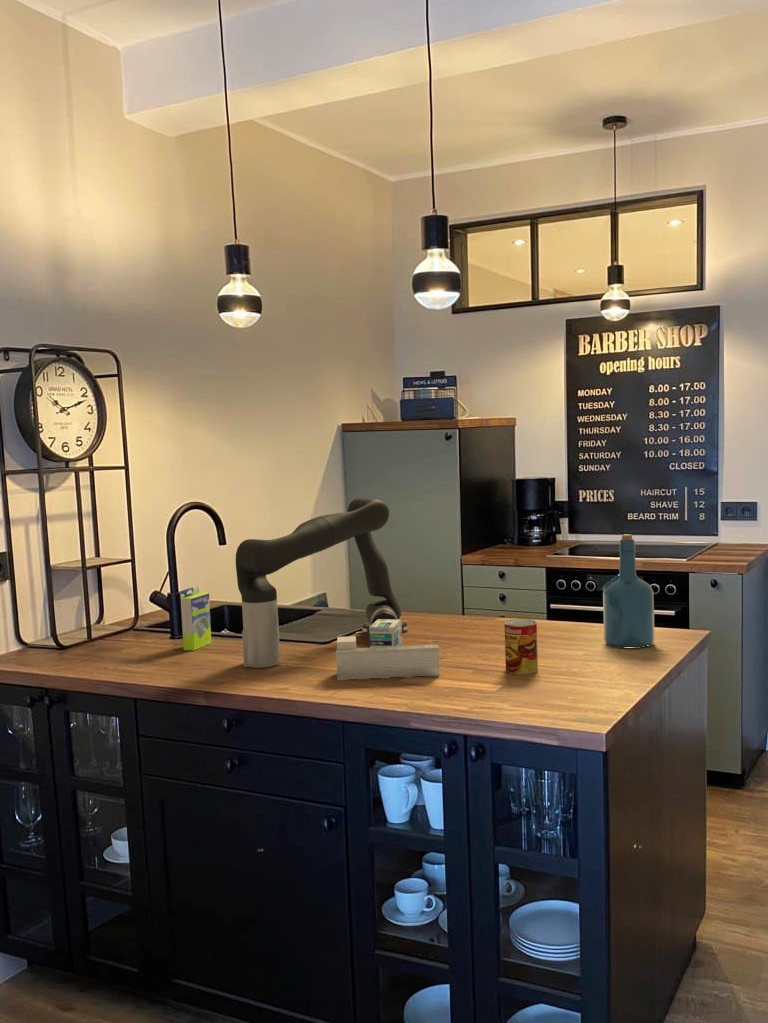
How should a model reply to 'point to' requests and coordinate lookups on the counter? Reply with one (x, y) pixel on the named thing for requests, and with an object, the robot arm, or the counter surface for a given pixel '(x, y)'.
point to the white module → (346, 642)
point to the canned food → (521, 646)
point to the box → (195, 619)
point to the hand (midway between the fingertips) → (385, 635)
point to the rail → (387, 662)
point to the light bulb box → (386, 633)
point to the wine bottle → (628, 603)
